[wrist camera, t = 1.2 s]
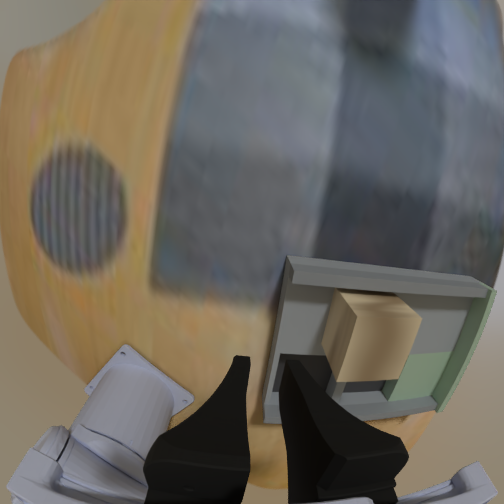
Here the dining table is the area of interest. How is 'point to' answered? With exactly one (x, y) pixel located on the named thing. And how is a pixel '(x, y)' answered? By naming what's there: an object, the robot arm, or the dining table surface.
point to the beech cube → (368, 335)
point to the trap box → (423, 349)
